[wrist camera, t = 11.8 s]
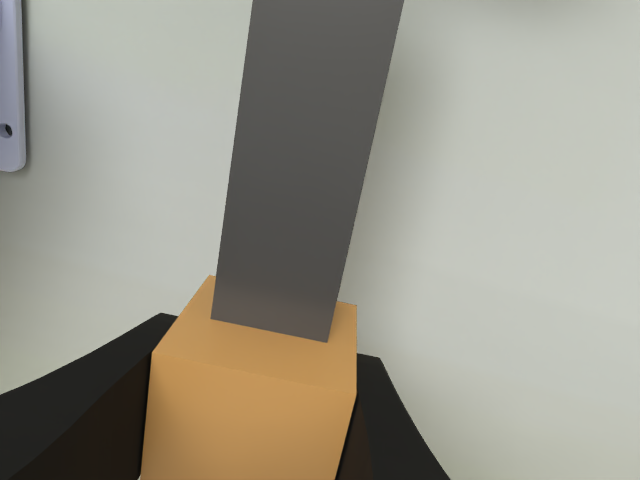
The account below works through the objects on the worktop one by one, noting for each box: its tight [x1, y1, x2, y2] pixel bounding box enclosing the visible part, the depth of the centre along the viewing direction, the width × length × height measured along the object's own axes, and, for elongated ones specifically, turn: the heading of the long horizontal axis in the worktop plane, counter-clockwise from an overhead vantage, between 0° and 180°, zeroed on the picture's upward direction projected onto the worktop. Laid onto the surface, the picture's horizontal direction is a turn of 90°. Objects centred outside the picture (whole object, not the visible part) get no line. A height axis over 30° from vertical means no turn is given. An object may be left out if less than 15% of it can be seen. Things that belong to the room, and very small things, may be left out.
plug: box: [140, 0, 404, 480], centre depth 9 cm, size 14×4×4 cm, turn 169°
